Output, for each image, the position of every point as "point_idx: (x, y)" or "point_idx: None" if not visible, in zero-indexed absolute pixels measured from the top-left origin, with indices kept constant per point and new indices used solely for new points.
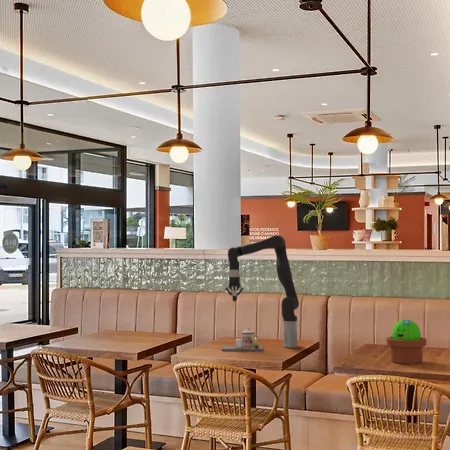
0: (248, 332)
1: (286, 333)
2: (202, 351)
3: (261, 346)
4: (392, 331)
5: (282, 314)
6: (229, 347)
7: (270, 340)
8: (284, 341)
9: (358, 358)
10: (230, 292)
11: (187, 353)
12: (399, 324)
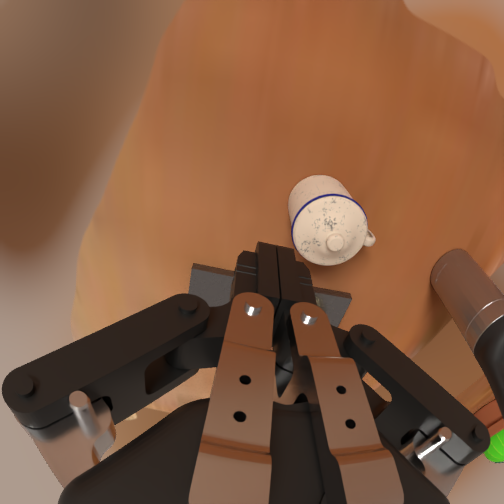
0: (324, 264)
1: (453, 319)
2: (122, 306)
3: (345, 301)
4: (493, 446)
5: (485, 365)
6: (216, 303)
7: (451, 90)
8: (439, 291)
9: (461, 400)
10: (167, 345)
11: (88, 325)
12: (493, 460)
